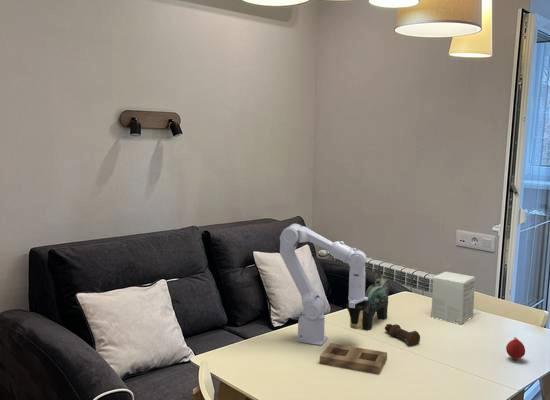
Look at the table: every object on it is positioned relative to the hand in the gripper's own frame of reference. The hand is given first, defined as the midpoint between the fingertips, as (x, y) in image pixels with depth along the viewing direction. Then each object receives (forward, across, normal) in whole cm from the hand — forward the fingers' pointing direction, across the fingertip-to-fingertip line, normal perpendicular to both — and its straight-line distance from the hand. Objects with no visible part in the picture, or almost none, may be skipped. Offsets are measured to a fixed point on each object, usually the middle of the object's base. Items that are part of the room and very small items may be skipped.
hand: (356, 321), depth 188 cm
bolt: (+9, +13, -14) cm, 21 cm away
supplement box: (+9, +45, -30) cm, 55 cm away
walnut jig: (+9, -14, -3) cm, 17 cm away
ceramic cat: (+9, +25, -2) cm, 27 cm away
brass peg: (+2, 0, 0) cm, 2 cm away
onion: (+9, +9, -53) cm, 54 cm away
